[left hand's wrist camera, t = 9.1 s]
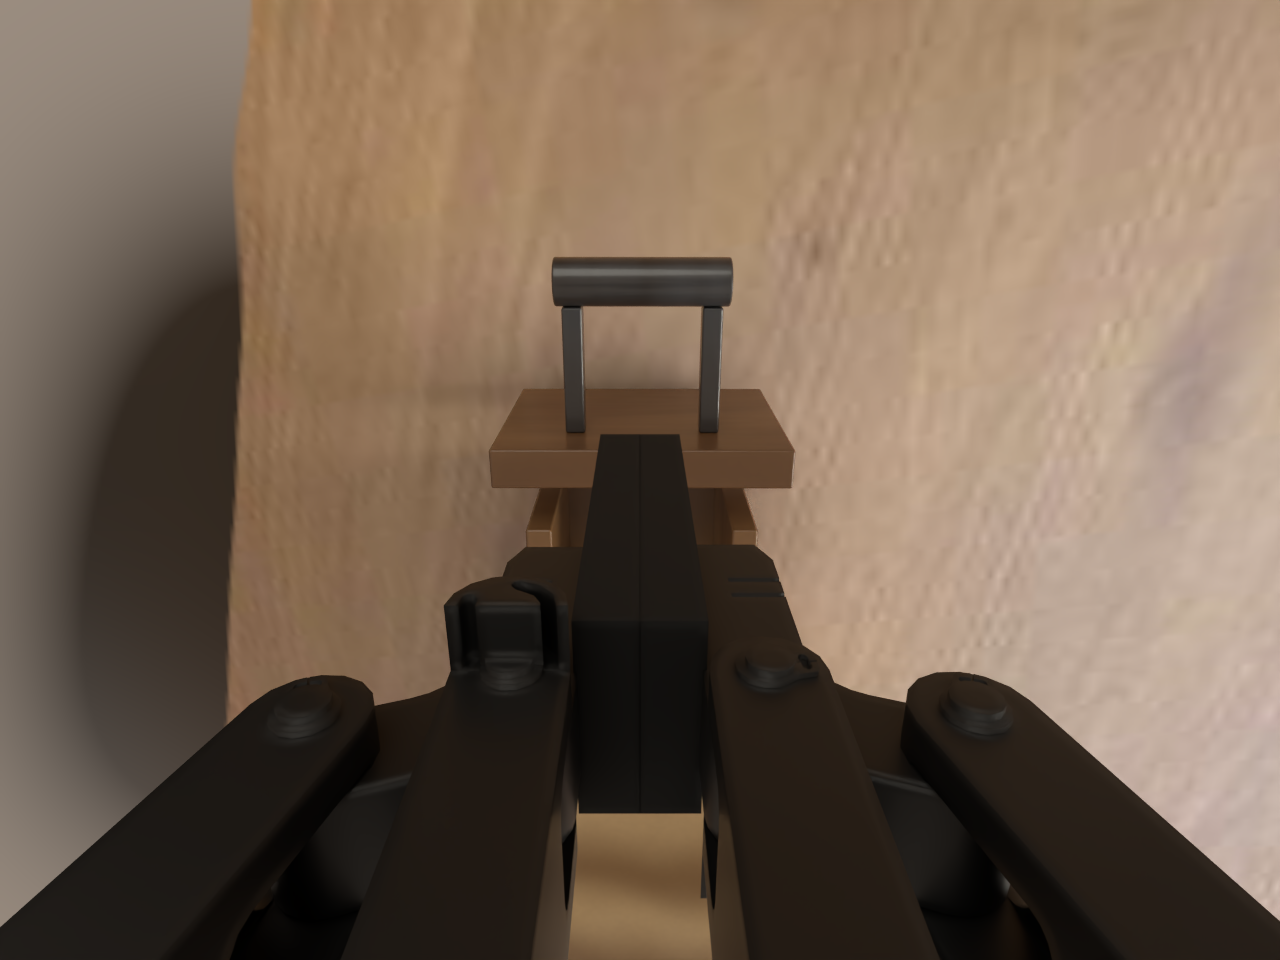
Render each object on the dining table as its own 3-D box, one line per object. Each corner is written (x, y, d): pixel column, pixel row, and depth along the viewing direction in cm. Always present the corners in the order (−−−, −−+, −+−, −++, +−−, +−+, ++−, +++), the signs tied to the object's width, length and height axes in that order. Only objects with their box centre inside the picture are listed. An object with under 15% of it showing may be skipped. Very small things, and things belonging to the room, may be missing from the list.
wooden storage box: (524, 591, 33) (484, 731, 24) (758, 591, 33) (798, 732, 24) (545, 933, 40) (521, 1130, 32) (735, 933, 40) (760, 1130, 32)
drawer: (515, 243, 26) (474, 263, 20) (769, 243, 26) (811, 264, 20) (546, 793, 36) (524, 930, 29) (735, 793, 35) (757, 930, 29)
